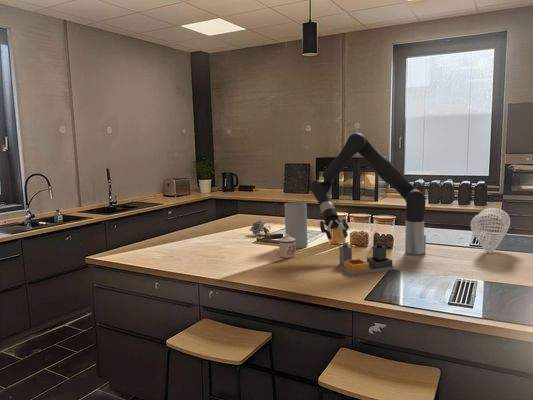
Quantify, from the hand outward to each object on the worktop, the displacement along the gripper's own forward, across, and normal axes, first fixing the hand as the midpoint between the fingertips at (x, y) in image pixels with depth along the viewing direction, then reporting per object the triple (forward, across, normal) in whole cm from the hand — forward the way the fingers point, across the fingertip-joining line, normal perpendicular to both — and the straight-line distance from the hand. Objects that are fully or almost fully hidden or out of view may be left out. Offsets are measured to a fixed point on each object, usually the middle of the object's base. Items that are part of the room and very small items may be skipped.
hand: (338, 237), depth 211 cm
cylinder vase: (-16, -10, +33) cm, 38 cm away
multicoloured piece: (+22, +6, -5) cm, 23 cm away
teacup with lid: (-5, -20, +22) cm, 30 cm away
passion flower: (-43, -22, +60) cm, 77 cm away
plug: (+14, 0, +3) cm, 14 cm away
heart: (+21, +76, -4) cm, 79 cm away
